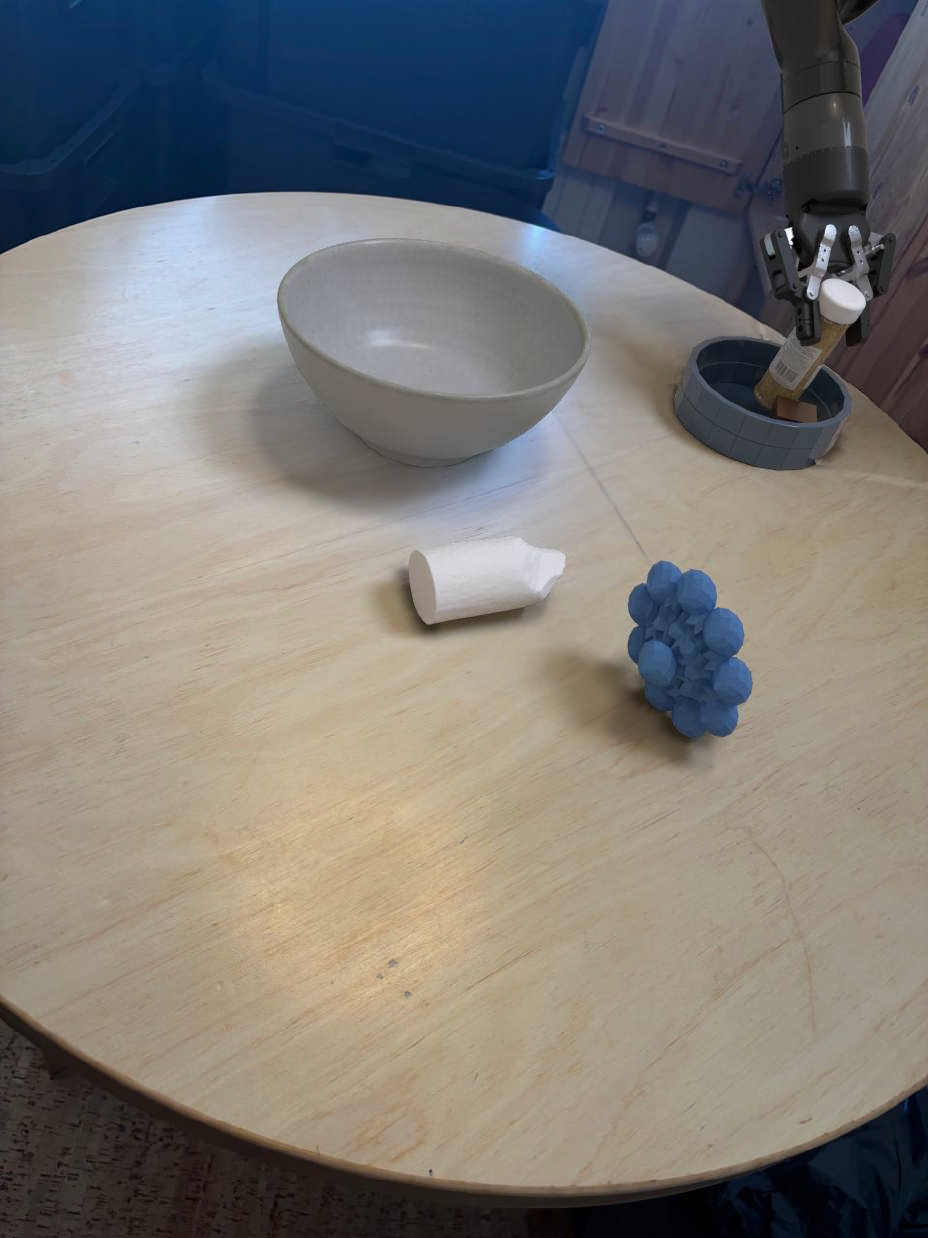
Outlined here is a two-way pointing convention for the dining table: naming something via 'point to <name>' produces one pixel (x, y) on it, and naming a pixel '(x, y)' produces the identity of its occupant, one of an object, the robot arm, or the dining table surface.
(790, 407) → the block
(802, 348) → the sprinkles bottle
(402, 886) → the dining table surface
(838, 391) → the bowl
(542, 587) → the white bottle
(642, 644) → the blue knobbly ring
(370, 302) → the decorative bowl
